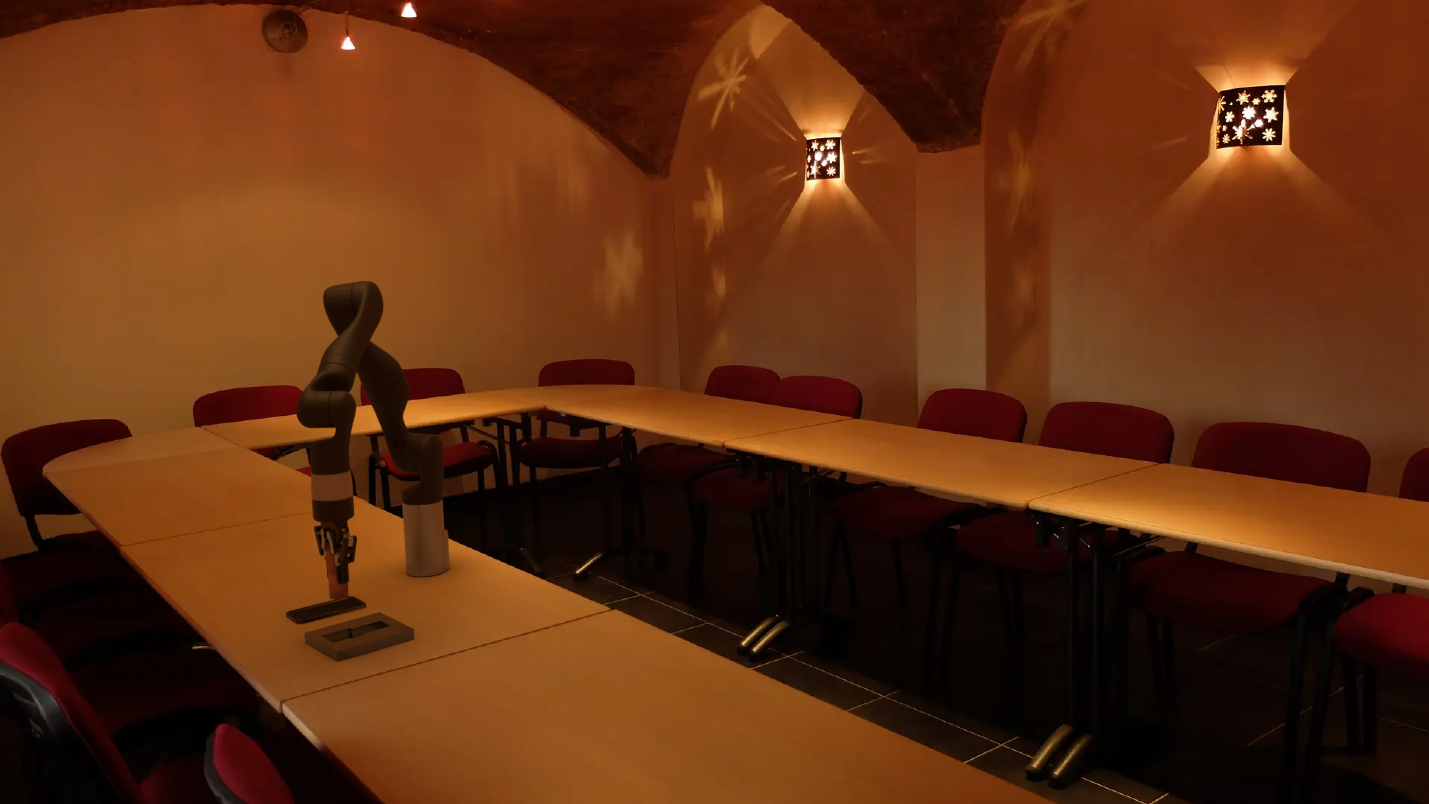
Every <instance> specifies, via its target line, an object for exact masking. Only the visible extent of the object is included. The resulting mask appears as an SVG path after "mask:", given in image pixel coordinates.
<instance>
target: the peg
mask: <svg viewBox="0 0 1429 804" xmlns="http://www.w3.org/2000/svg"><path fill="white" fill-rule="evenodd" d="M336 549H341V547H338V548H336ZM326 551H327V566H328V578H327V581H328V594H329V599H330V600H335V599H344V598H346V597H348V596H350V595H349V594H350V593H349V592H350V591H349V582H348V583H345V584H341V585H340V584H338V583H337V578H336V564H335V558H334V555H333V554H332V553H331V549H330V546H327V547H326ZM339 557H340V554H339ZM327 566H326V567H327Z"/></svg>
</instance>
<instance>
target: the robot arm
mask: <svg viewBox="0 0 1429 804" xmlns="http://www.w3.org/2000/svg"><path fill="white" fill-rule="evenodd" d="M322 302H323V308H324V311H325V314H326V317H327V319H328V322H329V323H330V324H331V326H332V328H333V330H334V332H335V334H336V335H337V337H336V338H335V339H333V341H332V342H331V343H330V344H329V345H328V346H327V347H326V349H325V351H324V352H323V354H322V356H321V359H320V363H319V364H318V365H319V366H318V369H317V372H316V375H315V376H313V379H311V381H310V382H309V383H308V385H306V387H305V388H304V389H303V391H302V392H301V394H300V395H299V398H298V400H297V403H296V407H295V415H296V417H297V420H298V422H299V423H300V424H301V426H303V427H304V428H306V429H307V428H308V429H335V432H334V435H333V436H332V437H329V438H324V439H320V440H317V441H315V442H313V443H312V444H311V445H310V447H309V460H310V473H311V474H310V475H311V476H310V493H311V506H312V519H313V520H314V521H315V522H318V523H320V524H319V525H316V526H314V527H313V531H314V536H315V540H316V544H317V548H318V552H319V556H321V557H323V560H324V561H325V562H326V563H325V566H326V578H327V579H328V566H327V551H326V547H327V546H330V549H331V553H332V554H333V555H334V558H335V564H336V578H337V583H338V584H340V585H341V584H345V583H348V584H349V582H350V571H349V570H350V569H349V564H352V563H355V559H356V558H355V557H356V552H357V551H356V549H357V544H358V537H357V535H355V534H354V535H351V534H350V528H349V524H348V521H349V520H351V519H352V518H353V517H354V516H355V502H354V501H355V500H354V488H353V486H354V485H353V478H352V473H351V472H352V471H351V462H350V460H351V459H350V444H351V443H350V442H351V436H352V430H353V425H354V422H355V417H356V413H357V403H356V400H355V398H354V395H352V394H351V393H350V392H351V390H352V389H353V387H354V383H355V380H356V376H358V378H359V381H360V384H361V386H362V388H363V390H364V393H365V395H366V397H367V399H368V401H369V403H370V405H371V408H372V410H373V412H374V414H375V416H376V418H377V422H378V423H379V426H380V428H381V431H382V434H383V436H384V440H385V444H386V446H387V450H388V452H389V456H390V458H391V461H392V463H393V465H394V466H395V468H396V469H397V470H399V471H401V472H404V473H415V474H416V473H417V474H420V475H419V476H420V477H419V478H420V479H419V483H417V484H413V485H411V486H408V487H406V488H404V489H403V490H402V492H401V501H402V502H401V505H402V519H403V536H404V537H403V538H404V554H405V555H404V556H405V557H404V558H405V570H406V571H405V572H406V574H407V575H409V576H413V577H430V576H437V575H439V574H442V573H444V572H446V571H447V570H450V569H451V566H450V547H449V544H450V543H449V532H448V529H445V522H444V520H445V519H444V517H445V516H444V503H443V502H444V500H443V492H444V487H445V485H444V484H445V479H444V478H445V475H444V474H445V471H444V468H445V465H444V463H445V453H444V445H443V441H442V440H441V438H440V436H438V435H436V434H432V433H418V432H417V433H415V432H410V430H409V429H408V427H407V425H406V423H405V420H404V414H405V411H406V408H407V405H408V402H409V399H410V386H409V382H408V380H407V378H406V375H405V373H404V371H403V368H402V366H401V365H400V363H399V361H397V359H396V358H394V357H393V355H391V354H390V353H388V351H386V350H384V349H383V348H382V347H380V346H378V345H377V344H376V343H374V342H373V341H371V339H372V337H373V336H374V333H375V331H376V329H377V328H378V326H379V324H380V322H381V320H382V317H383V314H384V307H385V306H384V299H383V294H382V292H381V289H380V288H379V286H378V285H377V284H376V283H375V282H374V281H372V280H371V281H370V280H361V281H354V282H347V283H341V284H336V285H331V286H328V287H327V288H326V289H325V290H324V292H323V294H322ZM338 547H341V549H336V548H338ZM339 554H340V557H339Z"/></svg>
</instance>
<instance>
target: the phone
mask: <svg viewBox="0 0 1429 804" xmlns="http://www.w3.org/2000/svg"><path fill="white" fill-rule="evenodd" d="M365 608H367V603H366V602H365V601H364V600H361V599H359V598H358V597H356V596H353V595H349V596H348V597H346V598H344V599H330V600H327V601H325V602H320V603H319V602H318V603H316V604H312V605H308V606H303V607H300V608H296V609H292V610H291V609H290V610H289V611H286V612H285V617H286V618H287V619H289V620H290V621H292V622H294V623H295V624H297V625H304V624H308V623H313V622H316V620H317V621H320V620H324V619H327V618H332V617H335V616H339V615H342V614H347V613H351V612H355V611H358V610H359V611H360V610H362V609H365Z"/></svg>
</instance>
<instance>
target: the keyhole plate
mask: <svg viewBox="0 0 1429 804" xmlns="http://www.w3.org/2000/svg"><path fill="white" fill-rule="evenodd" d="M303 635H304V643H305V644H307V645H308V646H310V647H312V648H314V649H315V650H317V651H318V652H320V653H322V654H324V655H325V656H327V657H329V658H331V659H332V660H334V661H335V662H337V663H338V662H342V661H344V660H345V661H346V660H348V659H352V658H355V657H359V656H361V655H364V654H365V655H366V654H369V653H371V652H374V651H378V650H381V649H384V648H388V647H392V646H395V645H398V644H401V643H406V642H408V641H410V640H414V639H415V628H413V627H410V626H409V625H407V624H405V623H402V622H401V621H398V620H397V619H394V618H392V617H390V616H388V615H387V614H385V613H382V612H380V611H379V612H375V613H371V614H368V615H364V616H361V617H355V618H353V619H350V620H349V619H348V620H346V621H342V622H338V623H334V624H331V625H328V626H324V627H321V628H320V627H319V628H317V629H313V630H310V631H305V632H304V633H303ZM349 638H350V639H349ZM345 639H347V640H345ZM342 640H343V641H342ZM336 642H337V643H336Z"/></svg>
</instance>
